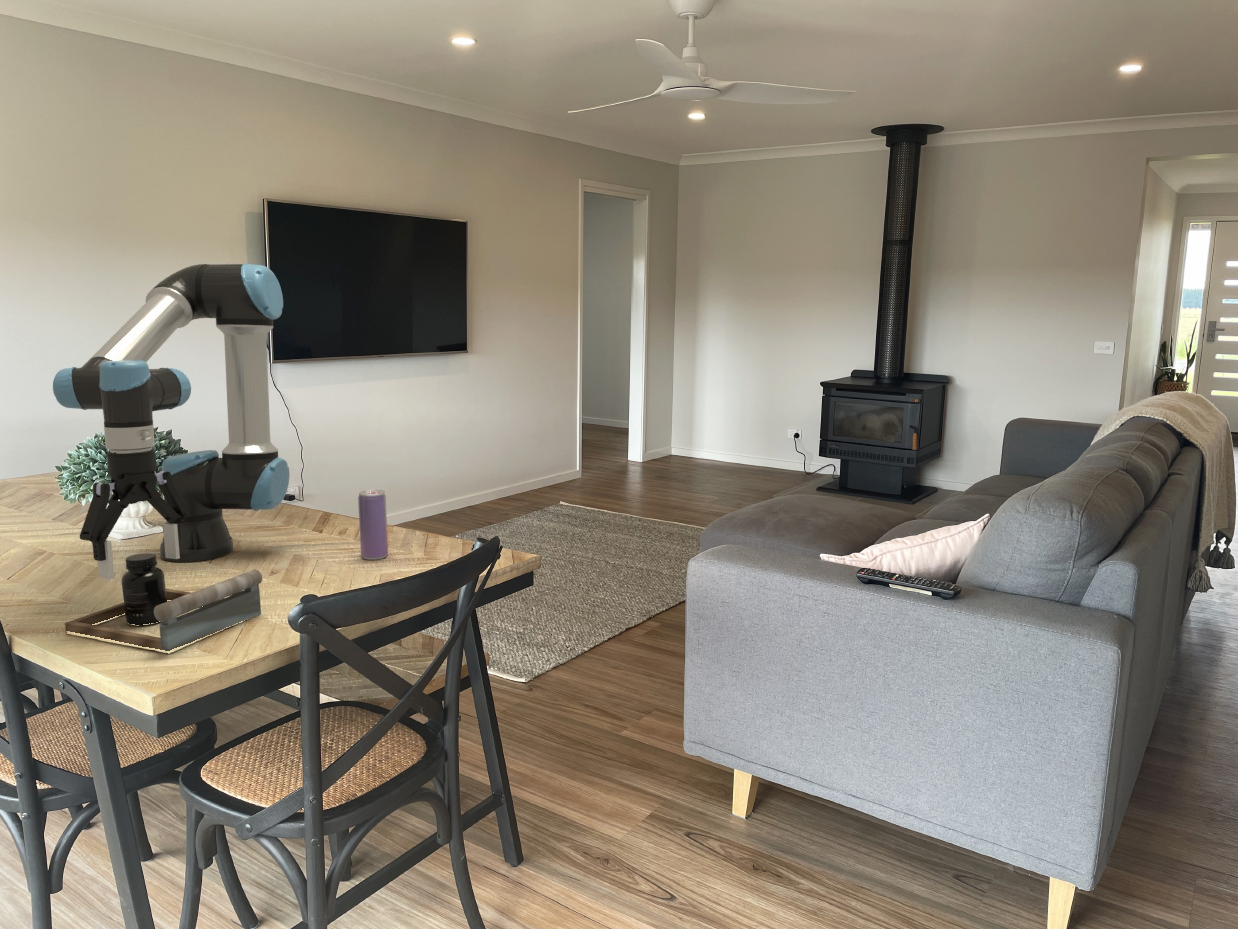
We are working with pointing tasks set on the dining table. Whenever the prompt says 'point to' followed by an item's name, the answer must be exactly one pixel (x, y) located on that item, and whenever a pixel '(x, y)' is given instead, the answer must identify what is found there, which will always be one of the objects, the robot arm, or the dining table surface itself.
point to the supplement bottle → (142, 588)
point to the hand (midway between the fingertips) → (141, 567)
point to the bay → (189, 625)
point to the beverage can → (373, 524)
